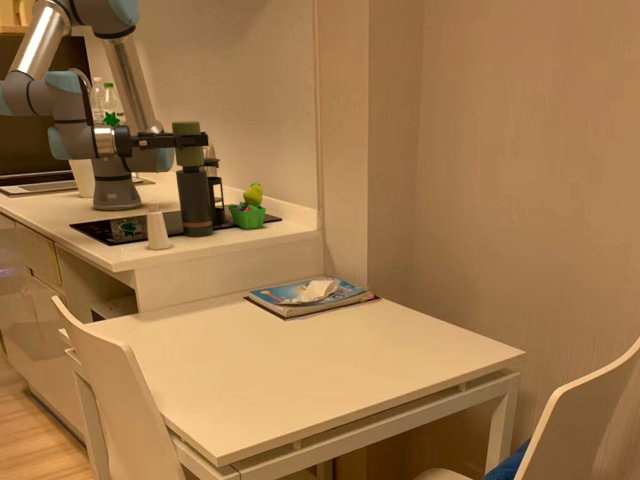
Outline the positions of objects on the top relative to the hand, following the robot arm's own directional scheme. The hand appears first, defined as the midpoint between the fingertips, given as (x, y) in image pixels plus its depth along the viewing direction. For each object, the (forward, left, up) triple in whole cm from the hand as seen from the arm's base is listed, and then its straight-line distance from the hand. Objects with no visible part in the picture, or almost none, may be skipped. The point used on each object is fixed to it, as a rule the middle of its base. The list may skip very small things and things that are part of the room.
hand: (206, 138), depth 179 cm
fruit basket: (-5, +11, -24) cm, 27 cm away
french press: (-16, +2, -24) cm, 29 cm away
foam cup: (-83, -25, -24) cm, 90 cm away
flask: (-1, -5, -23) cm, 24 cm away
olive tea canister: (-1, -5, -6) cm, 8 cm away
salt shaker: (+11, -18, -24) cm, 32 cm away
